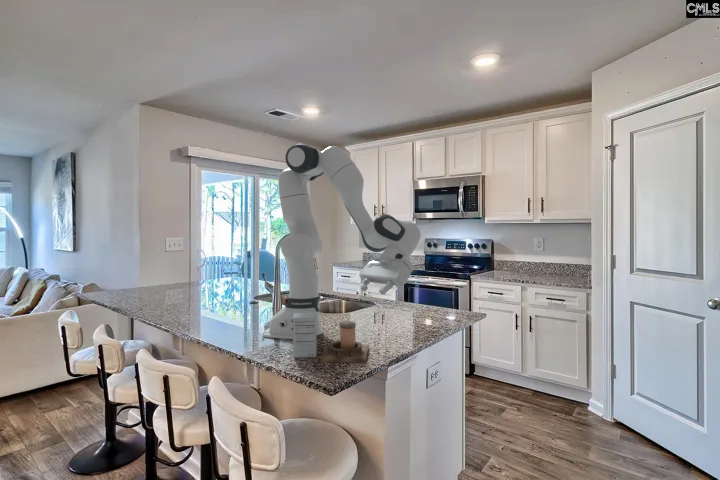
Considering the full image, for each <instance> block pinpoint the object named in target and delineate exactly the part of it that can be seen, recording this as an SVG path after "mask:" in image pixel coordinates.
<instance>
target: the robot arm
mask: <svg viewBox="0 0 720 480" xmlns="http://www.w3.org/2000/svg"><path fill="white" fill-rule="evenodd" d="M285 162H286V165H287V167H288V168H286V169H284V170H282V171H281V172H280V173H279V175H278V196H279V202H280V207H281V208H280V209H281V212H282V217H283V221H284V223H285V224H286V226H287V229H288V231H289V235H287V237H285V238H284V239H283V241H282V242H281V246H280V251H281V254H282V256H283V257H284V261H285V263H286V270H287V273H288V274H287V275H288V284H289V285H288V287H289V290H288V291H289V295H288V296H286V297H285V299H284V300H283V304H284V307H283V308H281V309H280V310H279V311H278V312H277V313H275V314H274V315H273V316H272V317H271V319H270V323H269V326H268V327H269V328H266V330H264V331H263V337H264V338H270V339H286V340H293V316H294V313H316V331H317V336H320V335H322V334H323V333H324V331H323V328H322V323H321V316H320V309H321V299H320V295H319V275H318V273H317V270H316V266H315V259H316V258H317V257H318V255H320V254H321V252H322V249H323V242H322V239H321V238H320V237H321V236H320V235H319V231H318V228H317V225H316V222H315V219H314V216H313V212H312V207H311V206H312V205H311V201H310V196H309V191H308V181H309V182H311V181H314V180H315V179H317V178H319V177H320V176H321V177H322V175H323V174H325V176H326V177H327V179H328V180H329V182H330V183H331V184H332V185H333V187H334V189H335V190H336V191H337V193H338V195H339V196H340V199H341V201H342V202H343V204H344V206H345V208H346V210H347V211H348V213H349V215H350V217H351V219H352V220H353V222H354V223H355V226H356V227H357V228H358V231H359V233H360V235H361V239H362V242H363V245H364V247H365V248H366V249H368V250H369V251H371V252H373V253H381V252H382V253H381V255H380V256H379V257H378V258H379V259H373V260H371V261H368V263H367V264H365V265H364V267H363V268H362V269H360V271H359V274H358V275H359V278H360V279H361V280H362V285H361V286H360V290H361V291H362V292H367V290H368V288H369V287H368V285H369V284H370V283H374V284H378V285H379V284H381V285H384V286H381V287H380V289H379V290H378V292H379V293H380V295H386V294H387V292H388V291H390V290H391V289H392V288H393V287H394V286H395V287H403V286H404V285H406V283H407V282H408V280H409V279H410V277H411V274H412V272H413V271H414V270H415V266H414V265H413V263H412V261H411V260H410V259H409V257H410V256H411V255H412V254H413V253H414V251H415V250H416V248H417V246H418V244H419V242H420V240H421V234H422V233H421V230H420V228H419V227H418V226H417V225H416V224H415V223H413V222H412V221H411V222H410V221H402V220H399V219H396V218H395V217H394V216H392V215H390V214H387V213H382V214H380V215H378V216H377V217H375V219H374V220H373V219H372V217H371V215H370V214H369V212H368V210H367V209H366V207H365V205H364V202H363V193H364V177H363V174H362V172H361V171H360V169H359V168H358V166H357V165H356V163H355V162H354V161H353V160H352V159H351V157H350V156H349V155H348V154H347V153H346V151H344V150H343V149H342V148H340V146H338V145H337V146H336V145H331V146H328V147H326V148H324V149H323V150H322V151H321V150H320V149H317V148H316V147H313V146H311V145H309V144H304V143H296V144H293V145H291V146H290V147H289V148H288V149H287V151H286V153H285Z"/></svg>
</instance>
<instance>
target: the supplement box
mask: <svg viewBox="0 0 720 480" xmlns="http://www.w3.org/2000/svg"><path fill="white" fill-rule="evenodd" d="M317 336H318V335H317V331H316V313H294V316H293V339H292V345H293V348H292V350H293V352H292V353H293V354H292V355H293V358H295V359H297V358H316V357H317V353H318V343H317V342H318V339H317Z"/></svg>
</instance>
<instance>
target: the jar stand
mask: <svg viewBox="0 0 720 480" xmlns="http://www.w3.org/2000/svg"><path fill="white" fill-rule="evenodd" d="M355 342H356V348H352V349H340V340H338V341H334V342H330V343H329V344H326V347H325V348H324V349H323V351H322V353H321V355H320V357H319V361H318V362H319V363H364V364H365V363H366V362H367V358H368V354H369V348H370V347H369V345H363V344H362V343H361V342H358V341H355Z"/></svg>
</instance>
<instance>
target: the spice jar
mask: <svg viewBox="0 0 720 480" xmlns="http://www.w3.org/2000/svg"><path fill="white" fill-rule="evenodd" d="M356 326H357V325H356V322H355V321H341V322H340V323H339V329H340V330H339V332H340V333H339V334H340V338H339V341H340V349H352V348H356V342H357V341H356Z"/></svg>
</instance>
